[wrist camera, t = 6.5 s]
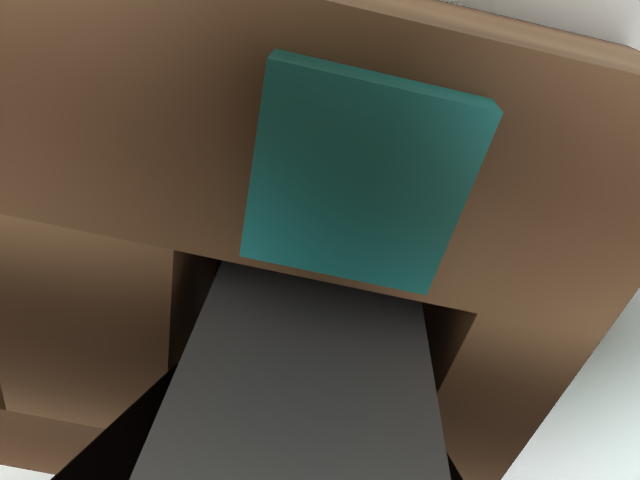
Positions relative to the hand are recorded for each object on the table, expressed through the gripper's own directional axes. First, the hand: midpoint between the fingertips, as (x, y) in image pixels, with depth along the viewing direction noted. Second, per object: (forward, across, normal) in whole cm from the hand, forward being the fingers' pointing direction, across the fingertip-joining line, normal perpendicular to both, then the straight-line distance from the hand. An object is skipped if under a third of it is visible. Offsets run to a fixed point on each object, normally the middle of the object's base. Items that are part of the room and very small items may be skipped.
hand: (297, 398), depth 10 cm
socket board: (+4, +4, -1) cm, 6 cm away
